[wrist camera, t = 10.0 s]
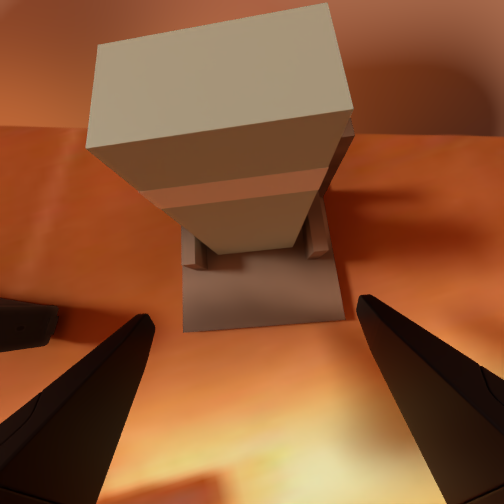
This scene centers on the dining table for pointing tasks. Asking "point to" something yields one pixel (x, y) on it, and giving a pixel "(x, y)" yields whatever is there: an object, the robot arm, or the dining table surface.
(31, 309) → the magazine
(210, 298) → the book rack
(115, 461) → the dining table surface
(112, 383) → the robot arm
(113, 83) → the book
